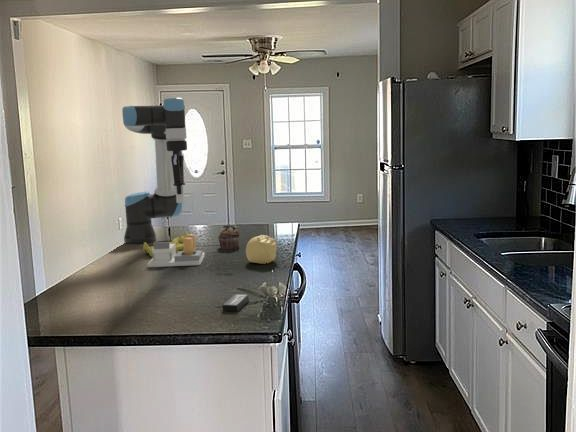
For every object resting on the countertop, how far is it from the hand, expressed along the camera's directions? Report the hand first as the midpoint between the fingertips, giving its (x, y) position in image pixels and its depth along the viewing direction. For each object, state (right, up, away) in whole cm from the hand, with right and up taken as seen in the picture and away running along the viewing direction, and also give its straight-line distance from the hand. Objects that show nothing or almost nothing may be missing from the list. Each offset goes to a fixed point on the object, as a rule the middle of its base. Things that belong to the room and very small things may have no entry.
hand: (180, 202), depth 212 cm
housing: (-3, -23, +10) cm, 26 cm away
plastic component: (-10, -21, +28) cm, 36 cm away
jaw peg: (+2, -22, +8) cm, 23 cm away
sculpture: (+31, -23, +3) cm, 39 cm away
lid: (-8, -19, +10) cm, 23 cm away
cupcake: (+15, -19, +35) cm, 42 cm away
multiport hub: (+26, -32, -50) cm, 65 cm away
